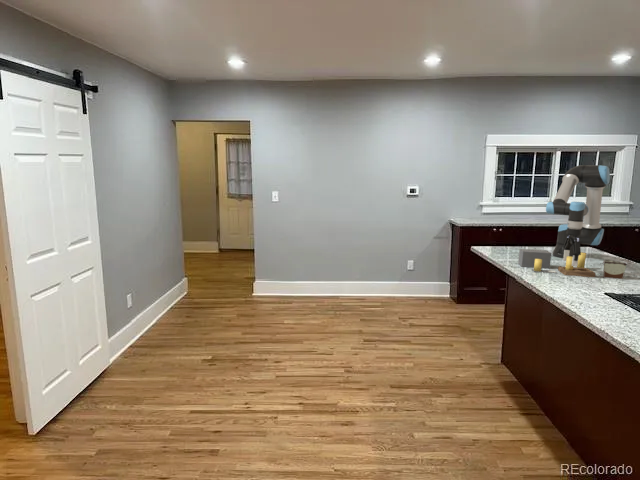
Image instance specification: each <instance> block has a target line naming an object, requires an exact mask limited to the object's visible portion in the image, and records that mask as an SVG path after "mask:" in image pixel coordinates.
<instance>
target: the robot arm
mask: <svg viewBox="0 0 640 480" xmlns="http://www.w3.org/2000/svg"><path fill="white" fill-rule="evenodd" d="M610 173H611V172H610V168H609V166H607V165H601V164H600V165H598V164H594V165H593V164H591V165H590V164H588V165H587V164H586V165H584V164H581V165H576V166H573V167H572V168H570V169H569V170H567V171H566V172H565V173H564V174H563V176H562V179H561V181H562V183H561V184H560V186H559V189H558V191H557V193H556V194H555V197H554V199H553V201H549V202H547V203H546V206H545V212H546V214H548V215H556V216H568V220H567V222H566V223H564V224H560V225H559V226H558V230H557V236H556V237H557V239H556V245H555V247H554V249H553V250H552V256H553V257H555V258H560V259H562V261H564V262H566V259H567V256H571V257H573V259H572V266H573V267H577V264H578V257H579V255H581V252H582V251H581V250H582V249H581V245H587V246H589V245H590V246H598V245H600V244H601V242H602V239H603V237H604V232H605V229H604V228H602V225H601V224H600V218H601V210H602V208H601V207H602V201H603V199H602V198H603V191H604V189H605V188H606V187H607V185H609V183H610V182H611V181H610V180H611V174H610ZM578 184H584V187H585V188H586V199H585V202H583V201H571V202H570V203H569V202H568V201H569V200H570V197H571V195H572V193H573V191H574V189H575V186H577V185H578Z"/></svg>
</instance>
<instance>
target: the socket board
mask: <svg viewBox="0 0 640 480" xmlns="http://www.w3.org/2000/svg"><path fill="white" fill-rule="evenodd" d="M565 267H566V266H558V267H557V271H558V272H560V273H561V274H563V275H564V276H566V277H567V276H572V277H584V278H585V277H586V278H587V277H588V278H595V277H596V272H595V271H593V270H591V269H589V268H588V267H584V268H577V266H573V270H565Z"/></svg>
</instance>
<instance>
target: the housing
mask: <svg viewBox="0 0 640 480" xmlns="http://www.w3.org/2000/svg"><path fill="white" fill-rule="evenodd" d="M518 252H519V253H518V261H517V262H518V263H517V264H518V265H519V266H520V267H521V268H528V269H529V268H530V269H531V268H532V269H534V263H535V259H542V267H541V269H544V270H545V269H546V270H550V269H551V262H552V261H551V260H552V255H553V252H550V251H549V250H547V249H546V250H544V249H528V248H527V249H526V248H519V251H518Z"/></svg>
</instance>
